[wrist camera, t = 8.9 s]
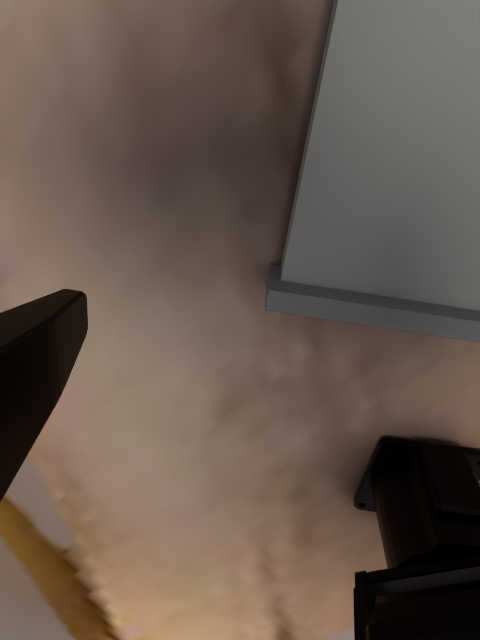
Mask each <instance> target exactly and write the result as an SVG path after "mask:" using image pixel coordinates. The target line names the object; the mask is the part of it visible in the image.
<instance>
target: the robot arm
mask: <svg viewBox="0 0 480 640" xmlns="http://www.w3.org/2000/svg"><path fill="white" fill-rule="evenodd" d="M87 330H88V315H87V297H86V294H85V293H84V292H82V291H77V290H71V289H63V290H60V291H57V292H55V293H52V294H49V295H47V296H44V297H41V298H39V299H36V300H33V301H31V302H28V303H25V304H23V305H20V306H17V307H15V308H12V309H10V310H7V311H4V312H2V313H0V502H1V500H2V499H3V497H4V495H5V493H6V492H7V490H8V488H9V486H10V485H11V483H12V481H13V479H14V478H15V476H16V474H17V472H18V471H19V469H20V467H21V465H22V464H23V462H24V460H25V458H26V457H27V455H28V453H29V451H30V450H31V448H32V446H33V444H34V443H35V441H36V439H37V437H38V436H39V434H40V432H41V430H42V429H43V427H44V425H45V423H46V422H47V420H48V418H49V416H50V415H51V413H52V411H53V409H54V408H55V406H56V404H57V402H58V400H59V398H60V396H61V394H62V392H63V390H64V388H65V385H66V383H67V381H68V378H69V376H70V373H71V371H72V369H73V366H74V364H75V361H76V359H77V357H78V354H79V352H80V349H81V347H82V344H83V342H84V340H85V337H86V334H87ZM479 480H480V451H476V450H469V449H462V448H456V447H449V446H442V445H436V444H429V443H422V442H416V441H409V440H402V439H396V438H383V439H382V440H380V442H379V444H378V446H377V448H376V450H375V453H374V455H373V457H372V459H371V461H370V464H369V466H368V468H367V470H366V473H365V475H364V477H363V479H362V481H361V484H360V486H359V488H358V490H357V493H356V495H355V497H354V506H355V507H356V508H357V509H360V510H367V511H373V512H376V514H377V519H378V523H379V528H380V533H381V538H382V543H383V548H384V553H385V558H386V563H387V568H388V569H383V570H377V571H372V572H366V571H360V572H355V588H354V632H355V640H480V484H479V482H478V481H479Z"/></svg>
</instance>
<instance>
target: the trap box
mask: <svg viewBox="0 0 480 640" xmlns="http://www.w3.org/2000/svg"><path fill="white" fill-rule="evenodd" d="M265 310H268V311H274V312H281V313H287V314H294V315H301V316H307V317H314V318H320V319H327V320H334V321H340V322H347V323H354V324H360V325H367V326H373V327H380V328H387V329H393V330H400V331H406V332H413V333H420V334H426V335H433V336H439V337H446V338H453V339H459V340H466V341H472V342H479V343H480V0H334V2H333V7H332V12H331V17H330V22H329V27H328V32H327V37H326V42H325V47H324V52H323V57H322V62H321V67H320V72H319V77H318V82H317V87H316V92H315V97H314V102H313V107H312V112H311V117H310V122H309V127H308V132H307V137H306V142H305V147H304V152H303V157H302V162H301V167H300V172H299V177H298V182H297V187H296V192H295V197H294V201H293V206H292V211H291V216H290V221H289V226H288V231H287V236H286V241H285V246H284V251H283V256H282V261H281V265H274V264H270V267H269V272H268V277H267V283H266V302H265Z"/></svg>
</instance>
